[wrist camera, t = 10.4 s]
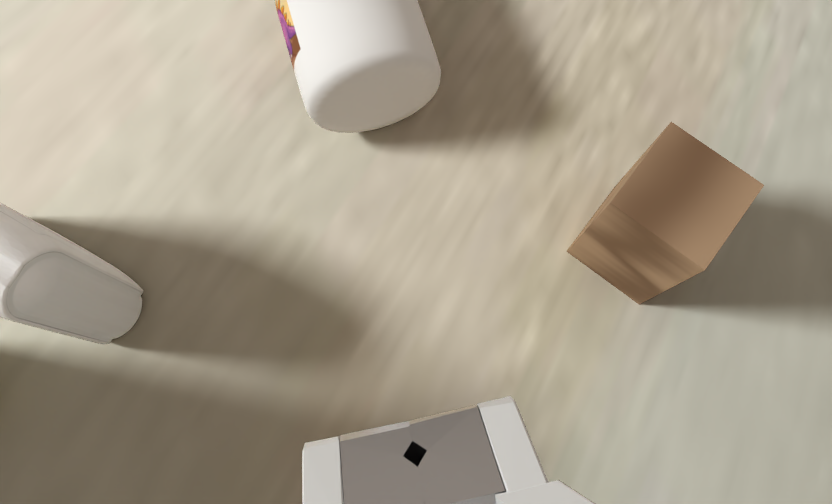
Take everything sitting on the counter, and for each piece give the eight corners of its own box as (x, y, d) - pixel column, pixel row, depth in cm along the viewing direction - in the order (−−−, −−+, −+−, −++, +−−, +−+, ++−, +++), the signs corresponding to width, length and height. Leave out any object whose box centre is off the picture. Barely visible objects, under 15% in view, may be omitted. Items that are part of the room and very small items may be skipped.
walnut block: (686, 237, 40) (763, 185, 31) (639, 304, 39) (705, 270, 30) (615, 186, 41) (671, 121, 32) (566, 251, 40) (610, 202, 31)
